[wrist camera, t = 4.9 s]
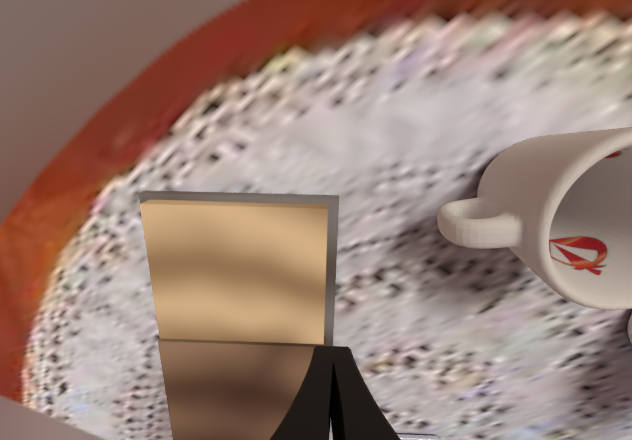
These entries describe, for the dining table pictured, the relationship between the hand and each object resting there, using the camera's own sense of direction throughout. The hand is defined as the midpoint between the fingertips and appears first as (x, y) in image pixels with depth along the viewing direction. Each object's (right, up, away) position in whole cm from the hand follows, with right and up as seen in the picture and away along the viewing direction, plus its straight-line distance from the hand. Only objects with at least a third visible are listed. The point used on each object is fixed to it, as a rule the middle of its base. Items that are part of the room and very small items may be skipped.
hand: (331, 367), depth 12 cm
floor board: (-6, -2, +12) cm, 13 cm away
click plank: (-6, +2, +10) cm, 11 cm away
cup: (+11, +8, +8) cm, 16 cm away
